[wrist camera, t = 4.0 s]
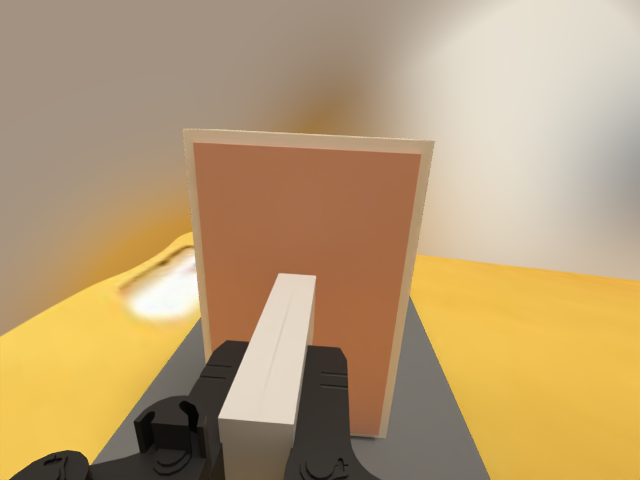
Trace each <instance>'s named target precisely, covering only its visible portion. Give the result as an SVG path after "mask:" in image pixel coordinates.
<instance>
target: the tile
mask: <svg viewBox="0 0 640 480" xmlns="http://www.w3.org/2000/svg"><path fill="white" fill-rule="evenodd" d="M183 139H184V148H185V159H186V169H187V179H188V190H189V200H190V209H191V220H192V230H193V240H194V250H195V261H196V271H197V281H198V291H199V301H200V311H201V321H202V332H203V342H204V352H205V362H206V363H207V362H208V360H209V358H210V356H211V355H212V353H213V351H214V350H215V349H216V348H218V347H219V346H220V345H221V344H223V343H224V342H225V341H226V340H232V341H246V342H250V341H251V338H252V336H253V334H254V331H255V329H256V326H257V324H258V322H259V319H260V317H261V314H262V312H263V310H264V307H265V305H266V303H267V300H268V298H269V295H270V293H271V291H272V288H273V286H274V284H275V281H276V279H277V276H278V274H279V273H284V274H299V275H313V276H316V290H315V311H314V332H313V341H312V345H313V346H326V347H339V348H340V349H341V350H342V352H343V354H344V355H345V357H346V359H347V368H348V393H349V417H350V436H361V437H373V438H385V439H386V435H387V429H388V423H389V417H390V410H391V404H392V398H393V392H394V386H395V380H396V374H397V368H398V362H399V356H400V349H401V343H402V337H403V331H404V325H405V319H406V313H407V307H408V301H409V295H410V289H411V282H412V276H413V270H414V264H415V258H416V252H417V246H418V240H419V234H420V228H421V221H422V215H423V209H424V203H425V197H426V191H427V185H428V178H429V173H430V166H431V160H432V154H433V148H434V141H429V140H416V139H397V138H376V137H356V136H337V135H316V134H296V133H275V132H254V131H236V130H215V129H183Z"/></svg>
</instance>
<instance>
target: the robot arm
mask: <svg viewBox="0 0 640 480" xmlns="http://www.w3.org/2000/svg"><path fill="white" fill-rule="evenodd" d="M315 290H316V276H313V275H299V274H284V273H279V274H278V276H277V279H276V281H275V284H274V286H273V288H272V291H271V293H270V295H269V298H268V300H267V303H266V305H265V307H264V310H263V312H262V314H261V317H260V319H259V322H258V324H257V326H256V329H255V331H254V334H253V336H252V338H251V341H250V342H246V341H232V340H226V341H225V342H224V343H223V344H221V345H220V346H219V347H218V348H216V349H215V350H214V351H213V353H212V355H211V356H210V358H209V360H208V362H207V363H206V367H204V369H203V370H202V372H201V374H200V377H199V379H197V381H196V383H195V384H194V386H193V388H192V390H191V392H190V393H189V395H188V396H186V395H181V396H171V397H168V398H165V399H162V400H160V401H157V402H155V403H154V404H152V405H151V406H149V407H148V408H146V409H145V410H143V412H142V413H141V414H140V415H139V416H138V417H137V418H136V419H135V420H134V421H133V422H134V427H135V432H136V436H137V441H138V446H139V450H140V452H139V453H137V454H134V455H131V456H127V457H124V458H120V459H116V460H111V461H107V462H102V463H98V464H94V465H89V463H88V460H87V458H86V457H85V456H84V455H83V454H82V453H81V452H78V451H70V450H66V451H61V452H56V453H52V454H49V455H47V456H45V457H43V458H41V459H39V460H36V461H34V462H32V463H31V464H30V465H28V466H27V467H25V468H24V469H23V470H21V471H20V472H18V473H17V474H15V475H14V476H13V477H12V478H11V479H9V480H381V479H379V478H378V477H376V476H374V475H372V474H371V473H370V472H369V471H367V470H366V469H365V468H364V467H363V466H362V465H361V463H360V462H359V460H358V459H357V458H356V456H355V454H354V451H353V449H352V445H351V439H350V417H349V393H348V368H347V359H346V357H345V355H344V354H343V352H342V350H341V349H340V348H339V347H326V346H313V345H312V341H313V332H314V311H315Z"/></svg>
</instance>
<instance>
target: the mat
mask: <svg viewBox="0 0 640 480" xmlns="http://www.w3.org/2000/svg"><path fill="white" fill-rule="evenodd" d="M204 367H206V362H205V352H204V342H203V332H202V321H201V318H200V319H199V320H198V322H197V323H196V324H195V326H194V327H193V328H192V330H191V331H190V333H189V334H188V335H187V337H186V338H185V339H184V341H183V342H182V343H181V345H180V346H179V347H178V349H177V350H176V351H175V353H174V354H173V355H172V357H171V358H170V359H169V361H168V362H167V363H166V365H165V366H164V367H163V369H162V370H161V372H160V373H159V374H158V376H157V377H156V378H155V380H154V381H153V382H152V384H151V385H150V386H149V388H148V389H147V390H146V392H145V393H144V394H143V396H142V397H141V398H140V400H139V401H138V402H137V404H136V405H135V406H134V408H133V409H132V411H131V412H130V413H129V415H128V416H127V417H126V419H125V420H124V421H123V423H122V424H121V425H120V427H119V428H118V429H117V431H116V432H115V433H114V435H113V436H112V437H111V439H110V440H109V441H108V443H107V444H106V445H105V447H104V448H103V449H102V451H101V452H100V454H99V455H98V456H97V458H96V459H95V460H94V462H93V463H92V464H91V465H94V464H98V463H102V462H107V461H111V460H116V459H120V458H124V457H127V456H131V455H134V454H137V453H139V452H140V450H139V446H138V441H137V436H136V432H135V427H134V422H133V421H134V420H135V419H136V418H137V417H138V416H139V415H140V414H141V413H142V412H143V410H145V409H146V408H148V407H149V406H151V405H152V404H154V403H155V402H157V401H160V400H162V399H165V398H168V397H171V396H181V395H186V396H188V395H189V393H190V392H191V390H192V388H193V386H194V384H195V383H196V381H197V379H199V377H200V374H201V372H202V370H203V369H204ZM350 439H351V445H352V449H353V451H354V454H355V456H356V458H357V459H358V460H359V462H360V463H361V465H362V466H363V467H364V468H365V469H366V470H367V471H369V472H370V473H371V474H372V475H374V476H376V477H378V478H379V479H381V480H490V477H489V475H488V473H487V470H486V468H485V466H484V464H483V461H482V459H481V457H480V455H479V452H478V450H477V448H476V445H475V443H474V441H473V439H472V436H471V434H470V432H469V429H468V427H467V425H466V423H465V420H464V418H463V416H462V414H461V411H460V409H459V407H458V404H457V402H456V400H455V398H454V395H453V393H452V391H451V389H450V386H449V384H448V382H447V379H446V377H445V375H444V373H443V370H442V368H441V366H440V364H439V361H438V359H437V357H436V354H435V352H434V350H433V348H432V345H431V343H430V341H429V339H428V336H427V334H426V332H425V329H424V327H423V325H422V323H421V320H420V318H419V316H418V314H417V311H416V309H415V307H414V304H413V302H412V300H411V298H410V295H409V301H408V307H407V313H406V319H405V325H404V331H403V337H402V343H401V349H400V356H399V362H398V368H397V374H396V380H395V386H394V392H393V398H392V404H391V410H390V417H389V423H388V429H387V435H386V439H385V438H373V437H361V436H350Z"/></svg>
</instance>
